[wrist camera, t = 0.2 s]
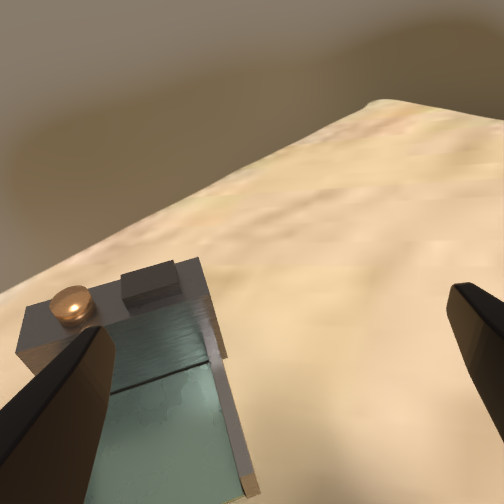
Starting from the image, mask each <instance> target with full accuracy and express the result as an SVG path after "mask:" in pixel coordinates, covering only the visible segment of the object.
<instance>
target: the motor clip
mask: <svg viewBox="0 0 504 504" xmlns="http://www.w3.org/2000/svg"><path fill="white" fill-rule="evenodd" d="M98 325H102V326H104V327H105V329H106V330H107V332H108V334H109V335H110V337H111V339H112V340H113V342H114V344H115V347H116V355H115V362H114V370H113V377H112V384H111V391H110V398H109V404H108V409H107V413H106V417H105V421H104V425H103V429H102V433H101V437H100V441H99V445H98V449H97V453H96V457H95V461H94V465H93V469H92V473H91V477H90V481H89V485H88V489H87V493H86V497H85V501H84V504H226V503H229V502H231V501H234V500H237V499H239V498H242V497H244V495H243V491H242V487H241V483H242V486H243V489H244V491H245V494H246V496H247V498H250V497H252V496H255V495H257V494H260V489H259V486H258V482H257V479H256V475H255V472H254V468H253V465H252V461H251V458H250V454H249V451H248V448H247V444H246V441H245V437H244V434H243V430H242V427H241V423H240V420H239V416H238V413H237V409H236V406H235V402H234V399H233V396H232V392H231V389H230V385H229V382H228V378H227V375H226V371H225V368H224V364H223V361H222V359H224V358H227V353H226V350H225V346H224V343H223V339H222V335H221V332H220V328H219V325H218V321H217V318H216V314H215V311H214V307H213V304H212V300H211V296H210V293H209V290H208V286H207V283H206V280H205V277H204V274H203V270H202V267H201V264H200V261H199V257H196V258H193V259H189V260H186V261H182V262H179V263H176V264H175V263H174V260H171V261H167V262H164V263H160V264H157V265H153V266H150V267H146V268H143V269H139V270H136V271H132V272H129V273H125V274H122V275H121V279H120V280H117V281H113V282H110V283H106V284H103V285H100V286H96V287H93V288H89V289H87V288H86V287H84V286H72V287H68V288H66V289H64V290H62V291H60V292H59V293H58V294H56V295H55V296H54V297H53V299H51V300H48V301H44V302H41V303H37V304H34V305H31V306H27V307H26V310H25V314H24V319H23V323H22V327H21V331H20V335H19V339H18V343H17V348H16V352H15V354H16V355H17V356H18V357H19V358H20V359H21V360H22V362H23V363H24V364H25V365H26V366H27V367H28V368H29V369H30V371H31V372H32V373H33V374H34V375H35V376H36V375H37V374H38V373H39V372H40V371H41V370H42V369H43V368H44V367H45V366H47V365H48V364H49V363H50V362H51V361H52V360H53V359H54V358H55V357H56V356H57V355H58V354H59V353H60V352H61V351H62V350H63V349H64V348H65V347H66V346H67V345H68V344H69V343H70V342H71V341H73V340H74V339H75V338H76V337H77V336H78V335H79V334H80V333H81V332H82V331H83V330H84V329H85V328H87V327H89V326H98ZM213 376H214V377H213ZM214 380H215V381H214ZM215 384H216V385H215ZM216 388H217V389H216ZM217 392H218V393H217ZM218 396H219V397H218ZM219 400H220V401H219ZM220 404H221V405H220ZM221 408H222V409H221ZM223 415H224V416H223ZM224 419H225V420H224ZM225 423H226V424H225ZM226 427H227V428H226ZM227 431H228V432H227ZM228 435H229V436H228ZM229 439H230V440H229ZM230 443H231V444H230ZM231 447H232V448H231ZM232 451H233V452H232ZM234 458H235V459H234ZM235 462H236V463H235ZM236 466H237V467H236ZM237 470H238V471H237ZM238 474H239V475H238ZM239 478H240V479H239ZM240 481H241V483H240Z"/></svg>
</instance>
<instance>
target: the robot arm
mask: <svg viewBox="0 0 504 504" xmlns="http://www.w3.org/2000/svg"><path fill="white" fill-rule="evenodd" d="M446 311H447V316H448V319H449V322H450V324H451V327H452V330H453V333H454V335H455V338H456V341H457V343H458V346H459V349H460V352H461V354H462V357H463V360H464V362H465V365H466V367H467V370H468V372H469V374H470V377H471V379H472V381H473V383H474V385H475V387H476V389H477V391H478V393H479V395H480V397H481V399H482V401H483V403H484V405H485V407H486V409H487V411H488V413H489V414H490V416H491V418H492V420H493V422H494V424H495V426H496V428H497V430H498V432H499V434H500V436H501V438H502V440H503V442H504V302H502V301H501V300H499V299H497V298H496V297H494V296H493V295H491V294H489V293H488V292H486V291H484V290H483V289H481V288H480V287H478V286H476V285H475V284H473V283H470V282H466V283H457V284H453V285H452V286H451V289H450V293H449V298H448V302H447V307H446ZM115 355H116V347H115V344H114V342H113V340H112V339H111V337H110V335H109V334H108V332H107V330H106V329H105V327H104V326H102V325H98V326H89V327H87V328H85V329H84V330H83V331H82V332H81V333H80V334H79V335H78V336H77V337H76V338H75V339H74V340H73V341H71V342H70V343H69V344H68V345H67V346H66V347H65V348H64V349H63V350H62V351H61V352H60V353H59V354H58V355H57V356H56V357H55V358H54V359H53V360H52V361H51V362H50V363H49V364H48V365H47V366H45V367H44V368H43V369H42V370H41V371H40V372H39V373H38V374H37V375H36V376H35V377H34V378H33V379H32V380H31V381H30V382H29V383H28V384H27V385H26V386H25V387H24V388H23V389H22V390H21V391H19V392H18V393H17V394H16V395H15V396H14V397H13V398H12V399H11V400H10V401H9V402H8V403H7V404H6V405H5V406H4V407H3V408H2V409H1V410H0V504H84V501H85V497H86V493H87V489H88V485H89V481H90V477H91V473H92V469H93V465H94V461H95V457H96V453H97V449H98V445H99V441H100V437H101V433H102V429H103V425H104V421H105V417H106V413H107V409H108V404H109V398H110V391H111V384H112V377H113V370H114V362H115Z"/></svg>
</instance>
